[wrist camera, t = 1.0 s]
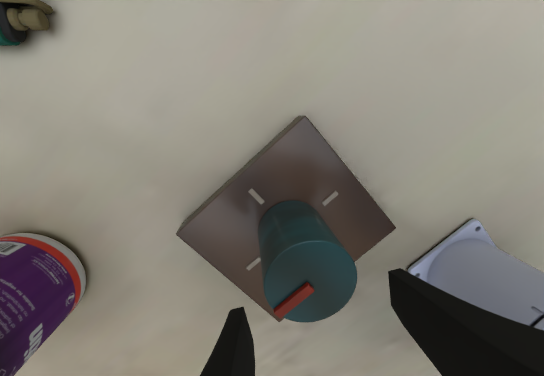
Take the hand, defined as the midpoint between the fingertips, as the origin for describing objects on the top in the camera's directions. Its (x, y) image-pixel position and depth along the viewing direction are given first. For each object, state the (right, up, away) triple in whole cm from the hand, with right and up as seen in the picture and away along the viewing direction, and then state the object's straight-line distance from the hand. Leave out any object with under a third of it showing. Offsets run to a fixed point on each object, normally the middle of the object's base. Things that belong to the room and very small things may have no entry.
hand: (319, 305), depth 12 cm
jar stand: (-1, +3, +10) cm, 10 cm away
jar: (-1, +2, +8) cm, 8 cm away
